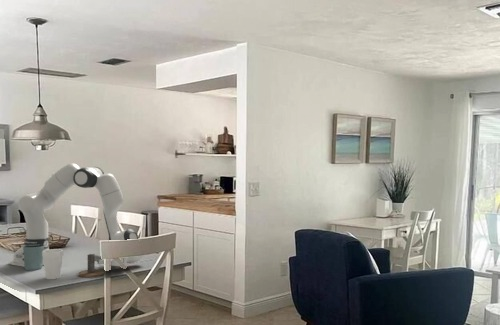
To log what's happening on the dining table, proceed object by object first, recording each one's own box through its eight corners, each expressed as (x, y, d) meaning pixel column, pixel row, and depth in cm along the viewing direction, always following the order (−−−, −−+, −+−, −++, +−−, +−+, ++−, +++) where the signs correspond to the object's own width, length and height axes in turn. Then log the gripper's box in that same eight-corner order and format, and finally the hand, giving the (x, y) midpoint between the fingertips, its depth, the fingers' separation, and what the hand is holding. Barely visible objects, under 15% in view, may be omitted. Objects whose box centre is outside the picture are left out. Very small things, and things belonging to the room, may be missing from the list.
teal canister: (19, 270, 250) (19, 247, 249) (30, 266, 260) (30, 243, 260) (37, 271, 248) (37, 247, 248) (48, 266, 258) (48, 244, 258)
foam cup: (46, 275, 239) (46, 249, 239) (65, 275, 240) (65, 248, 240) (39, 280, 230) (39, 252, 230) (59, 280, 230) (59, 252, 230)
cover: (73, 276, 237) (73, 256, 237) (87, 270, 249) (87, 251, 249) (95, 278, 235) (95, 258, 234) (108, 272, 246) (108, 252, 246)
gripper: (106, 248, 260) (82, 252, 250) (128, 253, 246) (104, 257, 236) (106, 260, 260) (82, 264, 250) (128, 266, 247) (104, 270, 236)
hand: (93, 261), depth 243 cm, fingers open, 8 cm apart
